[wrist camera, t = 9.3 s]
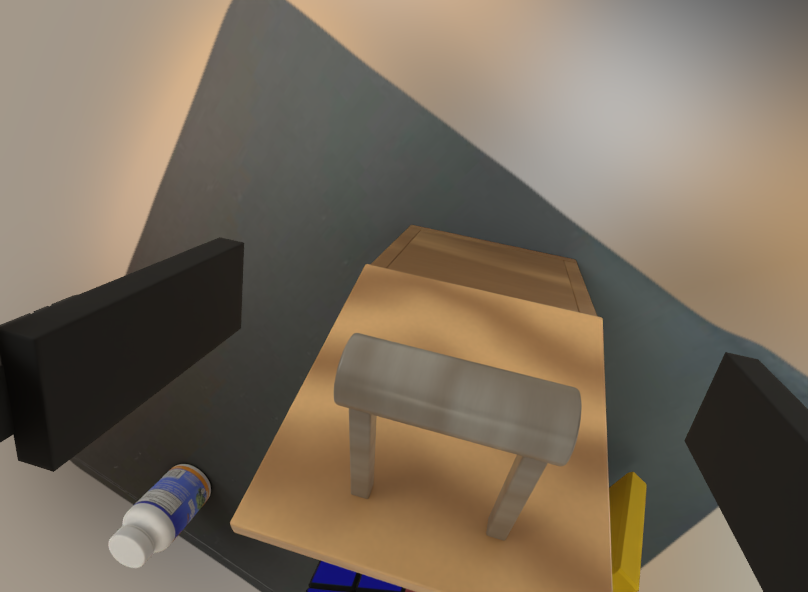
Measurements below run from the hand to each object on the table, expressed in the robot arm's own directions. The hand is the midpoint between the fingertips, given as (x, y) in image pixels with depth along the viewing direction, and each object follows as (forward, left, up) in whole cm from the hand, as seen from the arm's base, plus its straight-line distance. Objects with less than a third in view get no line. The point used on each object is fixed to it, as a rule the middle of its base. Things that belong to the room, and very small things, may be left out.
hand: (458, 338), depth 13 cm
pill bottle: (+16, -43, -26) cm, 52 cm away
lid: (+6, -4, -6) cm, 9 cm away
